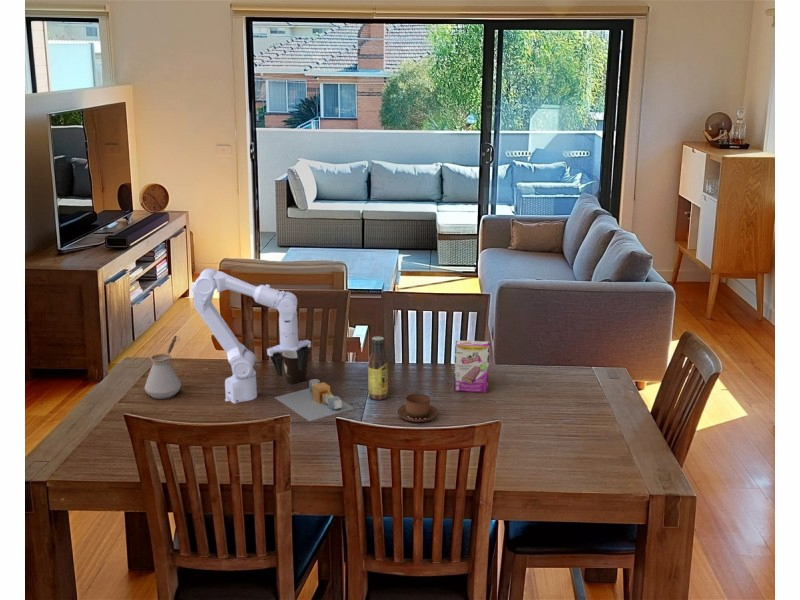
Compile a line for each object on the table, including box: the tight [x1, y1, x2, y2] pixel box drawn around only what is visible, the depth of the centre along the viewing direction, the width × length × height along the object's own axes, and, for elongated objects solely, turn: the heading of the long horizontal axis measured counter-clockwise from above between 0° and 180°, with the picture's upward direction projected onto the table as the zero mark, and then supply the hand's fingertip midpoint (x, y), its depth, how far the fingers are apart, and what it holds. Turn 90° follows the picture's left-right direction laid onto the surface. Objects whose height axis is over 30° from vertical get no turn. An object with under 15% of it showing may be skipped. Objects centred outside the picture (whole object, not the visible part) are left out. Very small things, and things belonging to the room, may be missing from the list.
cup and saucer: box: [397, 393, 438, 423], centre depth 267 cm, size 12×12×6 cm
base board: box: [274, 387, 355, 422], centre depth 274 cm, size 16×22×2 cm
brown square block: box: [312, 382, 331, 404], centre depth 275 cm, size 4×4×5 cm
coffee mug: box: [281, 351, 309, 385], centre depth 295 cm, size 12×9×10 cm
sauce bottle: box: [367, 335, 389, 401], centre depth 280 cm, size 7×6×20 cm
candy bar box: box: [453, 339, 491, 394], centre depth 286 cm, size 11×5×16 cm, turn 84°
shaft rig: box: [308, 378, 343, 411], centre depth 276 cm, size 6×20×4 cm, turn 36°
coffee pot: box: [144, 335, 182, 400], centre depth 287 cm, size 21×12×15 cm, turn 174°
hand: (290, 372), depth 277 cm, fingers open, 7 cm apart
